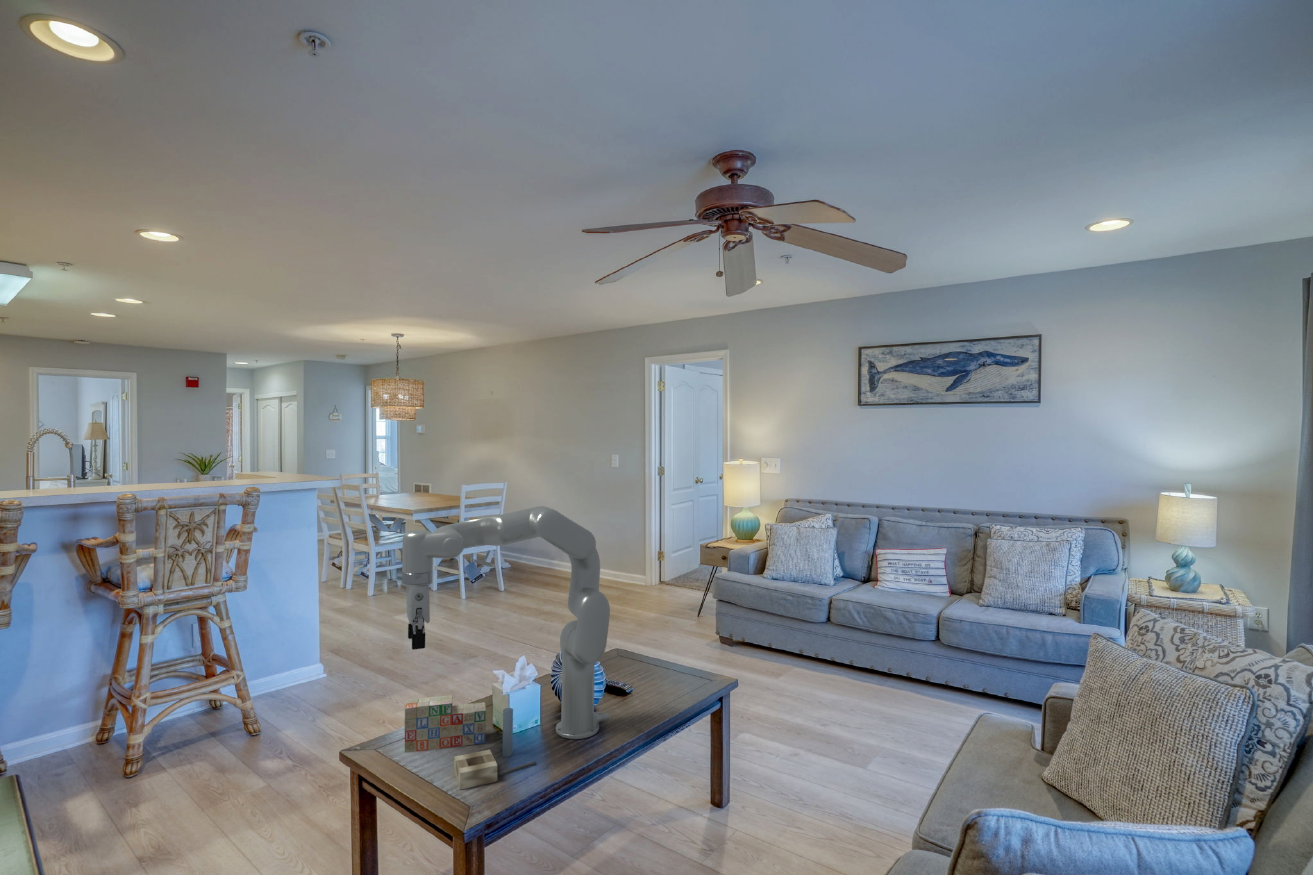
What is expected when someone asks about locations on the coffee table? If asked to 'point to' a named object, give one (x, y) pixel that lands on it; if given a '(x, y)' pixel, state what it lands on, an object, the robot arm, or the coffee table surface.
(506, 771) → the dark brown rod
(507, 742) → the grey peg
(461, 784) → the beige hollow block
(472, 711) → the stack of blocks
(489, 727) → the coffee table surface
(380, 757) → the coffee table surface
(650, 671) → the coffee table surface
